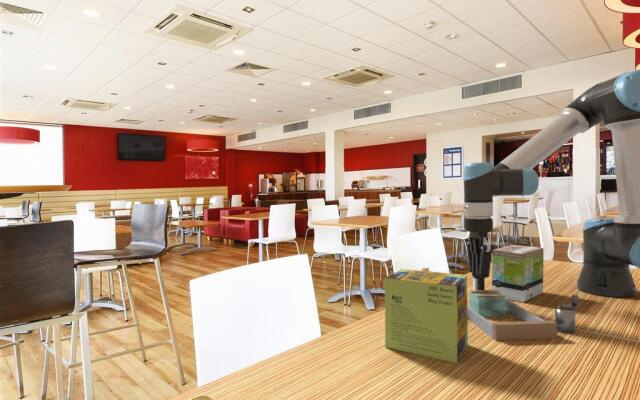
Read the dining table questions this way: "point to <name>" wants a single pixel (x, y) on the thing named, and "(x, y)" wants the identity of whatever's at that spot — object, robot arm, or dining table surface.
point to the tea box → (518, 272)
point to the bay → (515, 325)
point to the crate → (488, 303)
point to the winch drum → (566, 316)
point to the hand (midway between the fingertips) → (478, 299)
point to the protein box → (426, 313)
